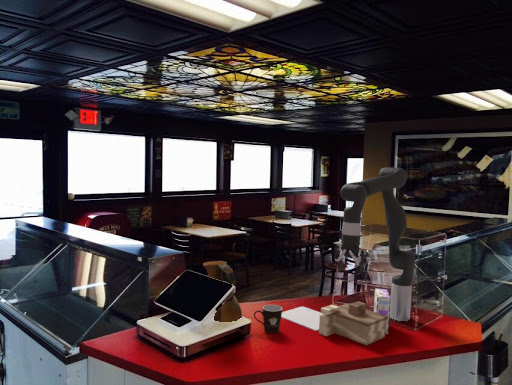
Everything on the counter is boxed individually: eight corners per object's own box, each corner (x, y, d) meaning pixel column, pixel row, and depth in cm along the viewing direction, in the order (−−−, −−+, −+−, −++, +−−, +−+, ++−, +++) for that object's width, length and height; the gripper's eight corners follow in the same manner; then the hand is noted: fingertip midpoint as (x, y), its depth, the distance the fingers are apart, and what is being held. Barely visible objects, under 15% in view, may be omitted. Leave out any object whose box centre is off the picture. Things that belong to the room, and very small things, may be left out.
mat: (302, 307, 221) (302, 306, 221) (342, 321, 203) (343, 320, 203) (275, 315, 208) (275, 314, 208) (315, 331, 190) (315, 330, 190)
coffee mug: (283, 328, 191) (284, 306, 190) (278, 335, 183) (279, 312, 182) (258, 324, 194) (259, 302, 194) (252, 331, 186) (253, 308, 186)
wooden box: (346, 323, 201) (347, 306, 200) (384, 337, 186) (386, 318, 186) (318, 333, 187) (319, 315, 187) (358, 349, 173) (359, 329, 172)
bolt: (332, 308, 192) (332, 304, 192) (339, 310, 189) (339, 306, 189) (320, 311, 187) (320, 308, 187) (328, 314, 184) (328, 310, 184)
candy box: (388, 334, 189) (390, 297, 188) (374, 332, 191) (376, 296, 190) (385, 323, 203) (387, 289, 202) (372, 322, 204) (374, 287, 203)
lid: (346, 308, 201) (347, 294, 201) (387, 321, 186) (388, 307, 185) (326, 314, 191) (327, 300, 190) (368, 329, 175) (369, 314, 175)
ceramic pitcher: (215, 319, 199) (218, 254, 197) (251, 330, 187) (254, 262, 185) (185, 331, 183) (187, 261, 181) (221, 344, 171) (224, 270, 169)
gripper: (371, 234, 174) (369, 274, 176) (341, 230, 185) (339, 267, 186) (361, 236, 169) (359, 277, 170) (331, 231, 179) (329, 270, 180)
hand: (349, 272), depth 178 cm, fingers open, 8 cm apart
